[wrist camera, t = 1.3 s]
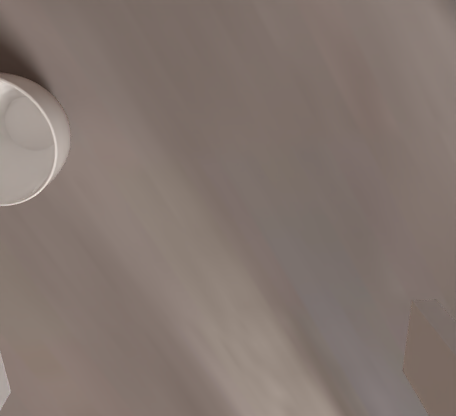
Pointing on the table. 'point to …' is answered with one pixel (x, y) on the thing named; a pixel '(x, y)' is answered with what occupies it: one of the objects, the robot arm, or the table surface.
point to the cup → (29, 138)
